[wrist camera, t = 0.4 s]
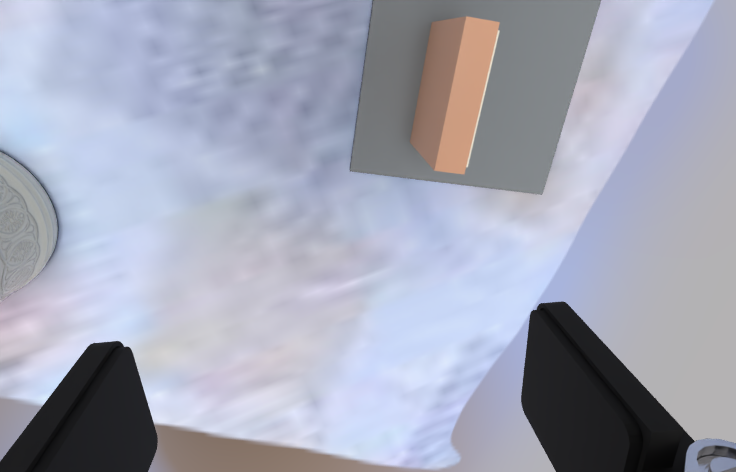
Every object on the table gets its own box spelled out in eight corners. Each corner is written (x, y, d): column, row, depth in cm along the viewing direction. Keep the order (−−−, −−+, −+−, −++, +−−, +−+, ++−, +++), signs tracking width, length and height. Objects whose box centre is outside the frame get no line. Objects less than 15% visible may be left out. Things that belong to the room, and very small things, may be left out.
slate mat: (382, -66, 32) (383, -68, 32) (603, -23, 35) (608, -24, 34) (349, 169, 39) (350, 171, 38) (539, 192, 41) (542, 194, 41)
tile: (431, 22, 34) (466, 16, 26) (460, 26, 35) (504, 22, 26) (409, 142, 38) (434, 170, 30) (436, 145, 38) (468, 175, 30)
